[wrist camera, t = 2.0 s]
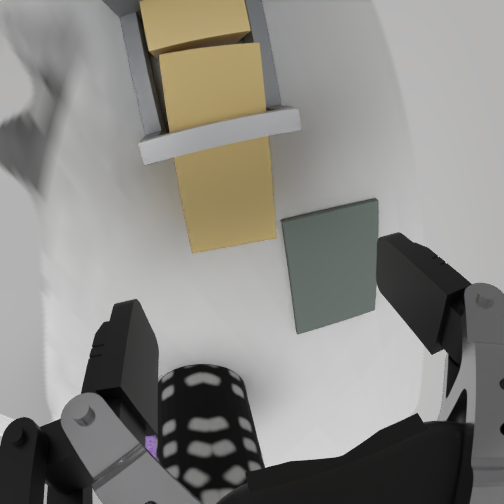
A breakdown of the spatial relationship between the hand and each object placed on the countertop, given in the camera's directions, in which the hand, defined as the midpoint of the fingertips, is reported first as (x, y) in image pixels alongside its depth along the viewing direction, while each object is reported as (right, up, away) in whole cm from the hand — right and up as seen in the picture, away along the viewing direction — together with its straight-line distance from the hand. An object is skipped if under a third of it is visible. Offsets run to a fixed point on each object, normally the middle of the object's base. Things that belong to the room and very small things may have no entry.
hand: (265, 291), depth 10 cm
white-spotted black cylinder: (-5, -12, +18) cm, 22 cm away
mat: (+6, 0, +13) cm, 15 cm away
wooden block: (-3, +8, +8) cm, 11 cm away
